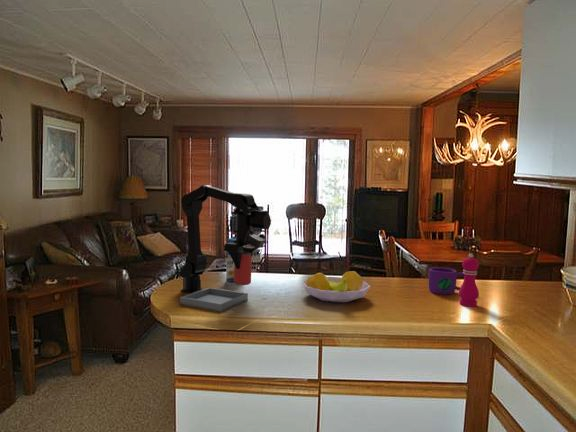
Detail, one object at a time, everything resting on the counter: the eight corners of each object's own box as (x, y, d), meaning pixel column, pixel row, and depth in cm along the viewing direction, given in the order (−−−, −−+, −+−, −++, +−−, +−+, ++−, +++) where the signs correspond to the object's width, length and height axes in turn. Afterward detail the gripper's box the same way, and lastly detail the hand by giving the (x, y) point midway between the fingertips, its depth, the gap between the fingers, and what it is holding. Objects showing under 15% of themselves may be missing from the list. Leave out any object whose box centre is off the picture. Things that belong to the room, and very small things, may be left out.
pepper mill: (477, 303, 176) (480, 252, 175) (478, 308, 170) (481, 255, 168) (457, 301, 179) (460, 251, 177) (458, 305, 172) (461, 254, 171)
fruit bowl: (307, 288, 195) (307, 262, 194) (370, 293, 189) (371, 266, 188) (294, 305, 167) (295, 275, 166) (368, 311, 162) (369, 280, 161)
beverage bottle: (248, 283, 202) (249, 239, 200) (233, 286, 195) (234, 240, 194) (236, 280, 207) (237, 237, 206) (221, 282, 201) (222, 238, 200)
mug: (430, 295, 188) (431, 271, 187) (425, 288, 199) (426, 266, 198) (473, 297, 186) (475, 273, 185) (466, 290, 197) (467, 268, 196)
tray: (179, 304, 165) (180, 297, 164) (209, 294, 181) (209, 287, 181) (220, 311, 157) (220, 304, 157) (247, 300, 173) (247, 293, 173)
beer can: (248, 286, 169) (249, 254, 168) (231, 284, 171) (232, 253, 170) (252, 282, 176) (253, 252, 175) (236, 281, 177) (237, 251, 176)
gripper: (249, 231, 160) (248, 274, 161) (273, 226, 176) (272, 266, 178) (223, 228, 164) (222, 270, 166) (249, 224, 181) (248, 262, 182)
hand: (242, 267), depth 173 cm, fingers closed on beer can, 7 cm apart
